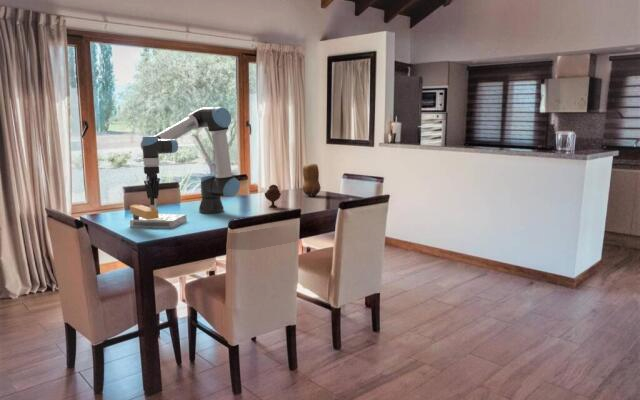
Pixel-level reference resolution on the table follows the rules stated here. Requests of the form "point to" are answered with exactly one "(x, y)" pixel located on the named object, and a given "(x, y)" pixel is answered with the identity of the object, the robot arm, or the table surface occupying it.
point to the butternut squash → (311, 179)
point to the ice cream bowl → (273, 195)
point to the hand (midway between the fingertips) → (153, 210)
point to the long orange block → (144, 211)
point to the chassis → (159, 221)
